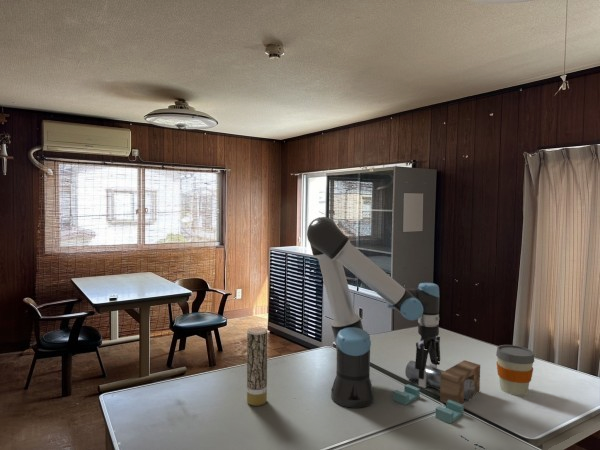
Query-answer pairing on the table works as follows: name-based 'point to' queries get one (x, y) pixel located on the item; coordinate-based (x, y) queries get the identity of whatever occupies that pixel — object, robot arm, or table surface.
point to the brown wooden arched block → (458, 381)
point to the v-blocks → (447, 414)
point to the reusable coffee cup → (514, 368)
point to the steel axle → (437, 378)
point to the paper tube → (256, 366)
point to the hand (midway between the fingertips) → (427, 383)
